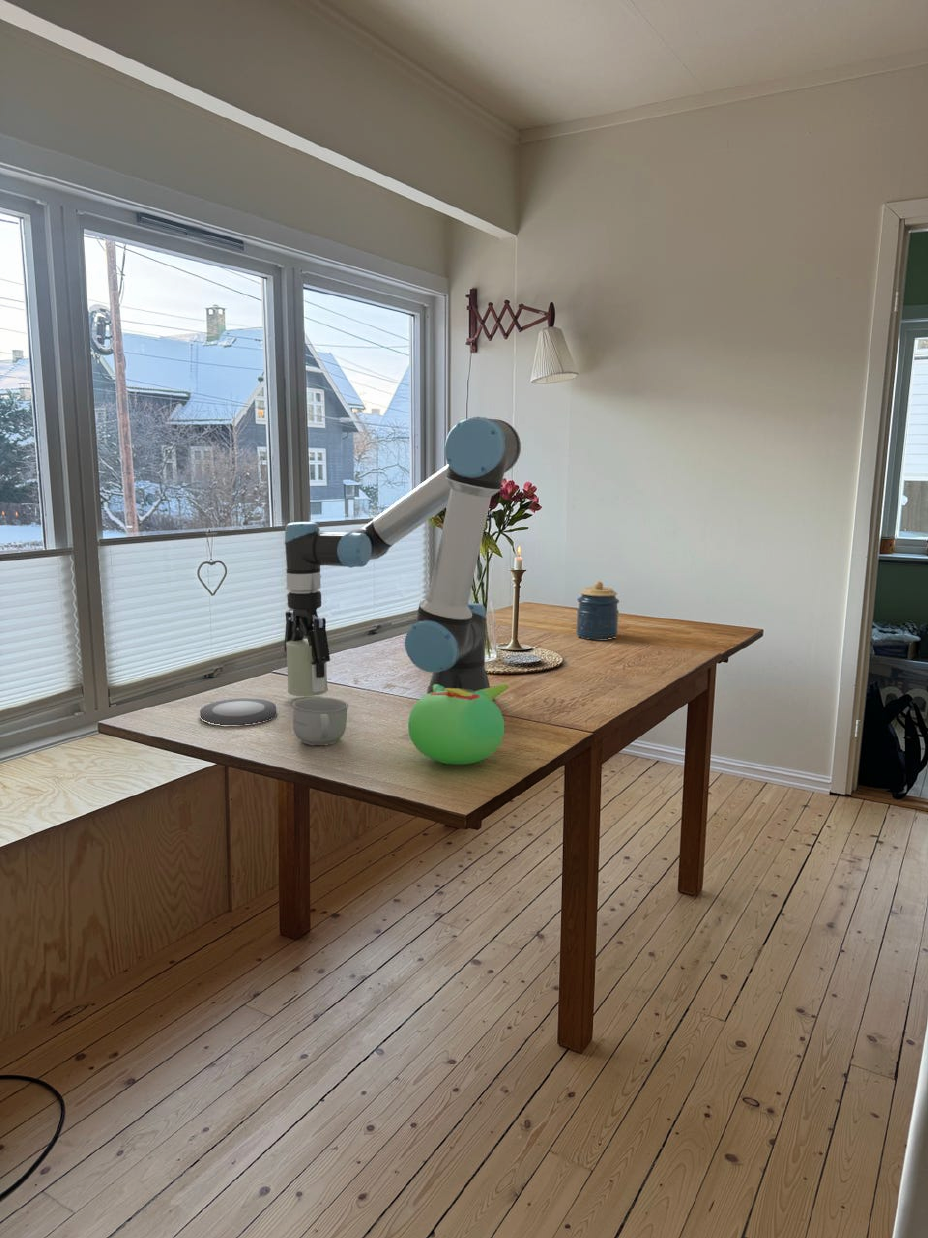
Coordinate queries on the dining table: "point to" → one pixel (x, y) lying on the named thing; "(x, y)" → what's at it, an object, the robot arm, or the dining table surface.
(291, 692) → the can
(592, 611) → the canister
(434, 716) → the green round lump
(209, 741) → the dining table surface
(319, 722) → the teacup
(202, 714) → the pad
